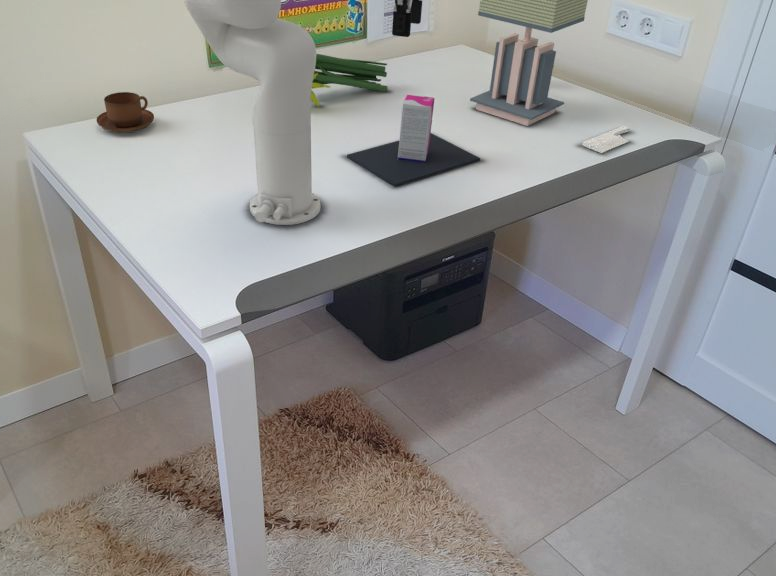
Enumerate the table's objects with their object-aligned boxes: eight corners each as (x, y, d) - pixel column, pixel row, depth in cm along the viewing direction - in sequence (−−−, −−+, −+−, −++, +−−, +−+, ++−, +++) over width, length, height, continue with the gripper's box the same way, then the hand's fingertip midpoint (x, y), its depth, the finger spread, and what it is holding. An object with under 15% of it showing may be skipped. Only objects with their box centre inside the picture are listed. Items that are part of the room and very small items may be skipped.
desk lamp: (466, 108, 171) (484, -48, 150) (499, 93, 179) (521, -56, 158) (532, 129, 161) (562, -34, 141) (565, 113, 169) (597, -43, 149)
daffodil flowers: (403, 105, 173) (277, 89, 153) (367, 120, 185) (245, 107, 165) (399, 33, 172) (270, 7, 152) (362, 53, 184) (238, 31, 164)
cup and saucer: (119, 113, 163) (114, 85, 159) (165, 120, 160) (161, 92, 156) (86, 132, 154) (80, 103, 150) (135, 140, 151) (130, 111, 147)
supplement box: (426, 163, 144) (431, 106, 137) (396, 160, 145) (400, 103, 138) (429, 152, 149) (435, 96, 142) (401, 149, 150) (405, 93, 142)
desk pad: (395, 187, 137) (395, 184, 137) (346, 157, 147) (346, 154, 147) (479, 160, 147) (480, 158, 147) (429, 134, 157) (429, 132, 157)
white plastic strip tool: (641, 136, 159) (643, 131, 158) (601, 153, 152) (602, 148, 151) (622, 129, 162) (623, 124, 161) (581, 145, 155) (582, 140, 154)
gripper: (426, -69, 115) (417, 43, 126) (444, -83, 128) (435, 20, 139) (381, -73, 117) (375, 39, 127) (403, -86, 130) (397, 16, 140)
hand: (406, 29), depth 133 cm, fingers open, 9 cm apart
